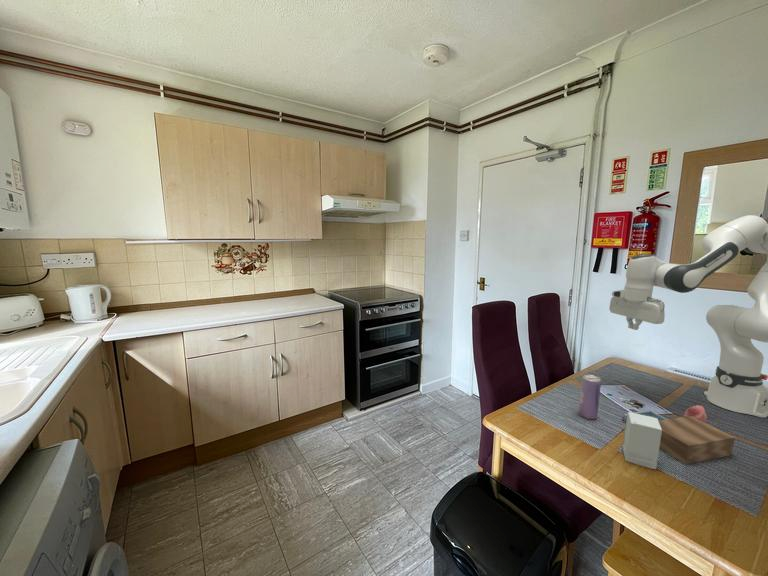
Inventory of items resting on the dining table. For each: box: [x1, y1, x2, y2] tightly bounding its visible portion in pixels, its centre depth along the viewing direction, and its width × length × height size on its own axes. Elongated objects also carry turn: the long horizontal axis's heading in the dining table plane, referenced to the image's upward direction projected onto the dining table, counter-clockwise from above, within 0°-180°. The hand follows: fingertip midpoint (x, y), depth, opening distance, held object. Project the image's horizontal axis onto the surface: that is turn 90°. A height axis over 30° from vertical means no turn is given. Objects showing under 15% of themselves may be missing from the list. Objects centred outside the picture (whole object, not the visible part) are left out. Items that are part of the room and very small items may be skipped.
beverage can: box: [578, 374, 602, 420], centre depth 119 cm, size 6×6×15 cm
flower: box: [683, 404, 708, 423], centre depth 115 cm, size 8×8×6 cm
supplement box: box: [622, 411, 662, 470], centre depth 96 cm, size 7×7×13 cm
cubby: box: [659, 416, 736, 465], centre depth 102 cm, size 18×12×6 cm, turn 102°
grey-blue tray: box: [622, 409, 668, 423], centre depth 109 cm, size 12×19×2 cm, turn 12°
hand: (633, 328), depth 130 cm, fingers closed
